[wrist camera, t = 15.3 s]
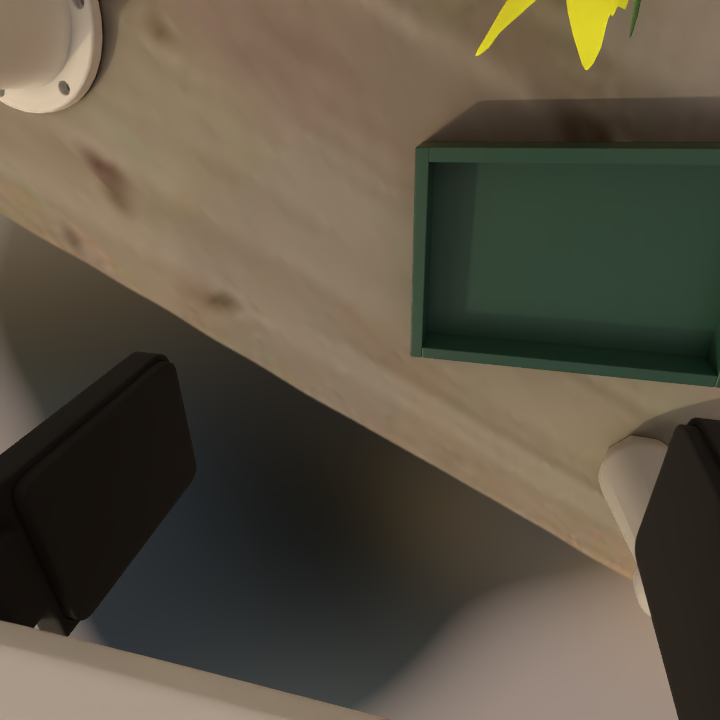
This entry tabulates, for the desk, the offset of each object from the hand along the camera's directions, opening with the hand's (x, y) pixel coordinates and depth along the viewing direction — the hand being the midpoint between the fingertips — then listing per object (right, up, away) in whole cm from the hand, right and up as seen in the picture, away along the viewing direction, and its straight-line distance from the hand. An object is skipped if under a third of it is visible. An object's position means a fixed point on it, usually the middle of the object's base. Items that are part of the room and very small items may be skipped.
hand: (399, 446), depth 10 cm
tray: (+13, +8, +23) cm, 28 cm away
